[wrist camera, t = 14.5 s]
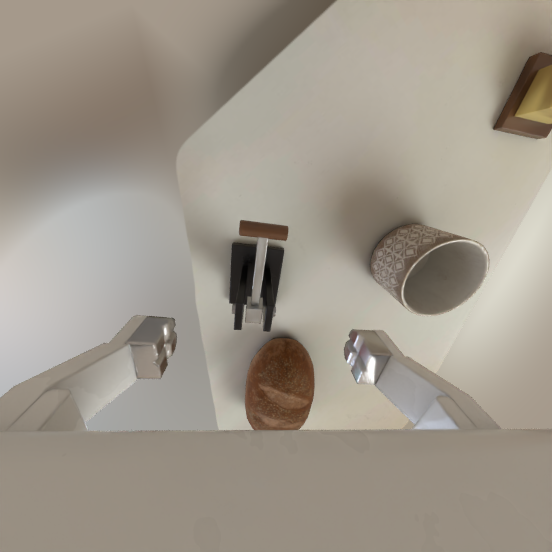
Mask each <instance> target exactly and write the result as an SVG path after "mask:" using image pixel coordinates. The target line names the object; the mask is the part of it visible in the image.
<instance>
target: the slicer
mask: <svg viewBox="0 0 552 552" xmlns="http://www.w3.org/2000/svg"><path fill="white" fill-rule="evenodd" d="M256 249H257V245H251V244H242V243H233V244H232V257H231V279H230V301H229V303H231V304H233V306H232V314H235V320H234V330H241V329H242V320H243V312H244V305H247V297H252V287H253V278H254V268H255V259H256ZM283 256H284V248H278V247H269V246H267V251H266V258H265V265H264V273H263V280H262V287H261V294H260V298H263V331H267V332H270V330H271V324H272V318H273V316H275V314H276V307H275V304H276V298H277V292H278V286H279V280H280V274H281V268H282V262H283Z"/></svg>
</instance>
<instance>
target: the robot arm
mask: <svg viewBox="0 0 552 552" xmlns="http://www.w3.org/2000/svg"><path fill="white" fill-rule="evenodd" d="M175 326H176V324H175V319H174V318H167V317H155V316H140V315H136V316H133V317H132V318H131V319H130V320H129V322H128V323H127V324H126V325H125V326H124V327H123V328H122V329H121V330H120V331H119V332H118V333H117V335H116V336H115V337H114V338H113V339H112V340H111V341H110V342H109V343H103V344H101V345H99V346H97V347H95V348H93V349H91V350H89V351H86V352H84V353H82V354H80V355H78V356H76V357H74V358H72V359H70V360H68V361H66V362H64V363H62V364H59V365H57V366H55V367H53V368H51V369H49V370H47V371H45V372H43V373H41V374H39V375H37V376H34V377H32V378H30V379H29V380H26V381H24V382H22V383H20V384H18V385H16V386H14V387H13V388H11V389H10V390H9V391H8V392H7V393H5V394H4V395H3V396H2V397H1V398H0V552H552V429H501V428H500V426H498V425H497V423H496V422H495V421H494V420H493V419H492V418H491V417H490V416H489V415H488V414H487V413H486V412H485V411H484V410H483V409H482V408H481V407H480V406H479V405H478V404H477V402H476V401H475V400H474V399H473V398H472V397H470V396H469V395H468V394H466V393H465V392H463V391H462V390H460V389H459V388H457V387H455V386H454V385H452V384H451V383H449V382H447V381H446V380H444V379H443V378H441V377H439V376H438V375H436V374H435V373H433V372H431V371H430V370H428V369H427V368H425V367H423V366H422V365H420V364H419V363H417V362H416V361H414V360H412V359H411V358H409V357H405V356H404V355H403V354H402V352H401V351H400V350H399V349H398V347H397V346H396V345H395V344H394V343H393V341H392V340H391V339H390V338H389V336H388V335H387V334H386V333H385V332H384V331H382V330H356V329H352V330H351V331H350V334H349V337H350V340H349V341H347V342H346V344H345V347H344V355H345V359H346V361H347V363H348V364H349V365H351V366H352V370H351V372H352V374H353V376H354V378H355V380H356V382H357V384H368V385H375V386H376V387H377V388H378V389H379V390H380V391H381V392H382V393H383V394H384V395H385V396H386V397H387V398H388V399H389V400H390V401H391V402H392V403H393V404H394V405H395V406H396V407H397V408H398V409H399V410H400V411H401V412H402V413H403V414H404V415H405V416H406V417H407V418H408V419H409V420H410V421H411V422H412V423H414V426H413V428H412V429H384V430H202V431H200V430H199V431H198V430H197V431H196V430H193V431H89V429H88V427H87V425H86V423H85V422H87V421H88V420H89V419H90V418H92V417H93V416H94V415H95V414H97V413H98V412H99V411H100V410H101V409H102V408H104V407H105V406H106V405H107V404H109V403H110V402H111V401H112V400H114V399H115V398H116V397H117V396H118V395H120V394H121V393H122V392H123V391H125V390H126V389H127V388H128V387H129V386H131V385H132V384H133V383H134V382H136V381H137V379H160V378H161V377H162V375H163V373H164V371H165V369H166V367H167V365H168V364H167V359H168V358H169V357H171V356H172V355H173V352H174V350H175V347H176V343H177V334H176V333H175V332H174V327H175Z"/></svg>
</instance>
